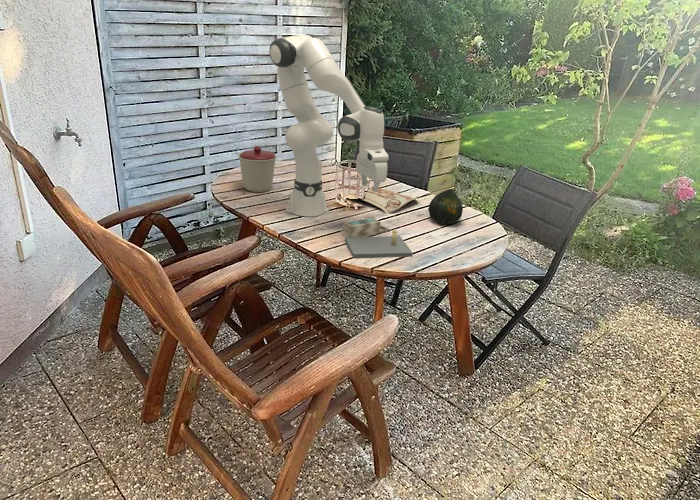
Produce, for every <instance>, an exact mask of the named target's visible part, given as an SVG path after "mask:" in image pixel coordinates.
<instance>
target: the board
mask: <svg viewBox="0 0 700 500" xmlns="http://www.w3.org/2000/svg"><path fill="white" fill-rule="evenodd" d="M344 242H345V245H346V246H347V248H348V250H349V253H350V254H351V257H352V258H353V259H365V258H366V259H367V258H368V259H371V258H373V259H375V258H403V257H404V258H407V257H413V253H414V252H413V251H412V249H410V247H409V246H408V245H407V243H406V242H405V241H404V239H403V238H402V236H401V235H398V230H397V229H392V233H391V236H363V237H346V236H345V237H344Z"/></svg>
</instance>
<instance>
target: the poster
mask: <svg viewBox="0 0 700 500" xmlns="http://www.w3.org/2000/svg"><path fill="white" fill-rule="evenodd" d="M368 187H369V186H368ZM372 187H373V186H370V187H369V191H368V193H367V195H366V197H365V199H364V200H363V202H364V201H365V202H366V203H370V204H372V205H374V206H376V207H378V208H379V209H381V210H383V211H384V212H385V214H391V213H394V212H397V211H398V210H399V209H400V208H401V207H403V206H404V205H406V204H408V203H409V202H411V201H413V200H417V199H419V197H418V196H416V197H410V196H407V195H403V194H402V193H401V194H400V193H398V192H394V191H393V190H387V189H384V188H380V187H378V192H373V191H372Z"/></svg>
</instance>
